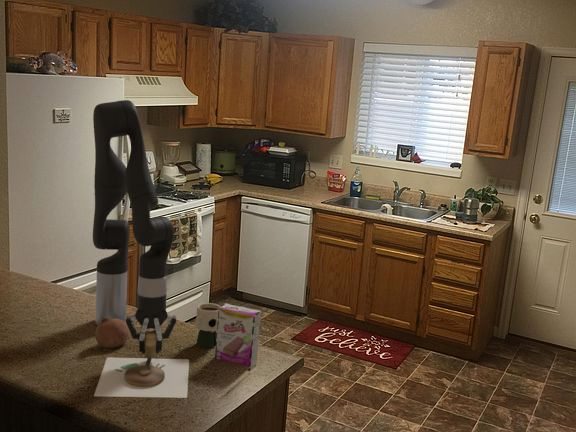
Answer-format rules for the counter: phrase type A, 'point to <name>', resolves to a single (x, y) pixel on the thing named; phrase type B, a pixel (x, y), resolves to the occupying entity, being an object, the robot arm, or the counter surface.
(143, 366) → the tuning dial
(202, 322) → the character mug
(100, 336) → the onion
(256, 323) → the candy bar box
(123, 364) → the dial panel
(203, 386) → the counter surface
